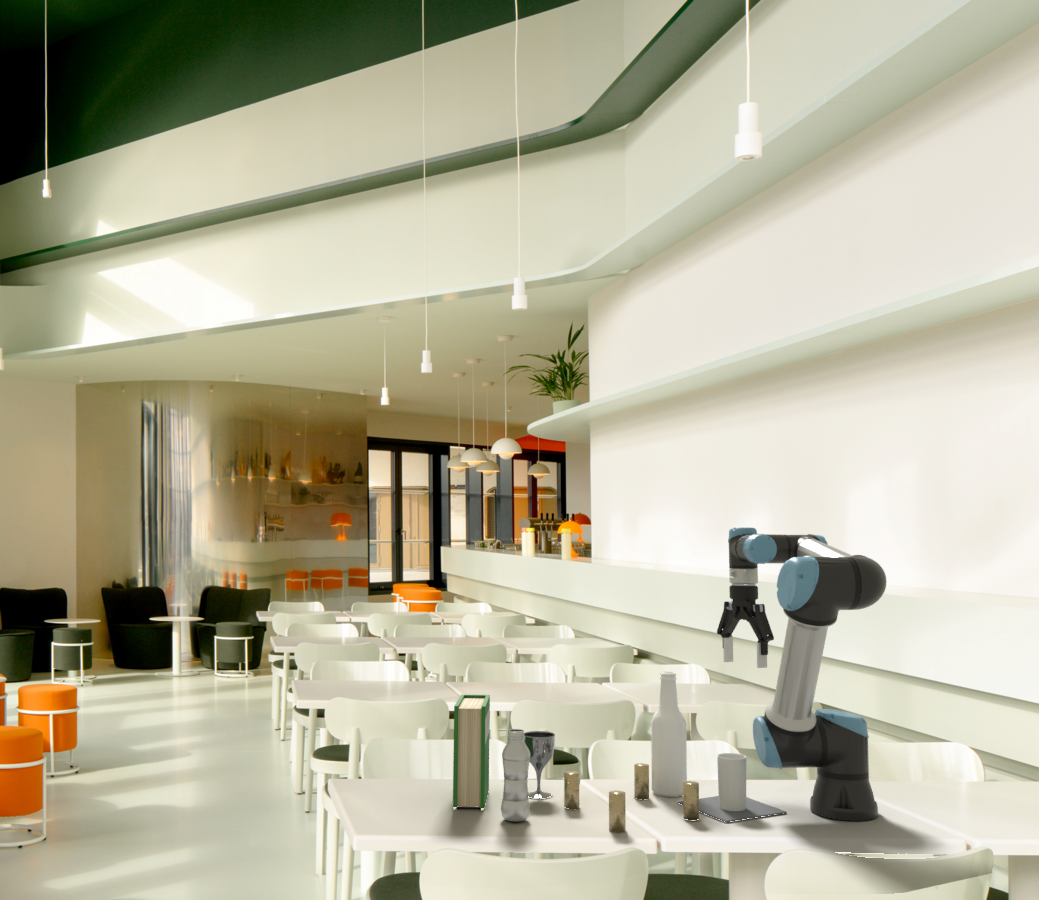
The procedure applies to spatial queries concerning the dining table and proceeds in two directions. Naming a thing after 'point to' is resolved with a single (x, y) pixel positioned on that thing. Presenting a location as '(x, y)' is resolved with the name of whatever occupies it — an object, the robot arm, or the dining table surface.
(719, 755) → the mug
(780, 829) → the dining table surface
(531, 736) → the wine glass
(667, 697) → the alcohol
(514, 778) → the plastic bottle
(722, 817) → the mat
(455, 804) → the hardback book
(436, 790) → the dining table surface
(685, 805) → the spacer posts
